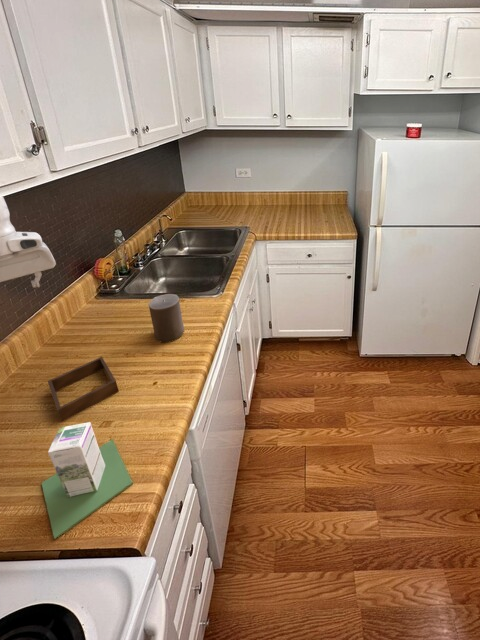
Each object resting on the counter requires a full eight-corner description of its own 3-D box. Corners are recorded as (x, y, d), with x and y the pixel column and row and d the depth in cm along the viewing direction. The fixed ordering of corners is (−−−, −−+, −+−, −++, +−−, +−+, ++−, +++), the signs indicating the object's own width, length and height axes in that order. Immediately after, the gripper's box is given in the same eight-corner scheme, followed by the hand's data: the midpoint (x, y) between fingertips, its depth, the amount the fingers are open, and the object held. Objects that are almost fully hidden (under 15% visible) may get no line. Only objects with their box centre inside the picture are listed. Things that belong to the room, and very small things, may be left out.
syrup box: (106, 465, 75) (91, 419, 70) (97, 492, 70) (80, 445, 65) (78, 471, 74) (60, 425, 69) (66, 500, 69) (46, 452, 64)
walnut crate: (61, 421, 86) (57, 410, 85) (51, 391, 95) (47, 380, 94) (118, 391, 95) (115, 380, 94) (104, 366, 104) (101, 356, 103)
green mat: (54, 540, 63) (53, 538, 63) (42, 484, 72) (41, 482, 72) (133, 483, 72) (132, 482, 72) (113, 440, 81) (112, 439, 81)
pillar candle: (169, 345, 113) (162, 308, 108) (149, 338, 117) (141, 301, 111) (190, 328, 121) (184, 293, 116) (170, 322, 125) (163, 287, 119)
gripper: (-68, 262, 72) (-44, 315, 77) (48, 237, 86) (62, 284, 91) (-67, 253, 76) (-44, 304, 81) (44, 231, 90) (58, 276, 95)
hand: (13, 293), depth 86 cm, fingers open, 8 cm apart
